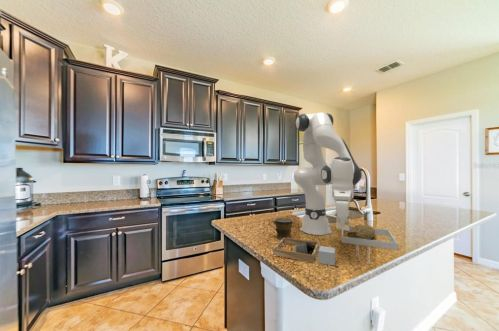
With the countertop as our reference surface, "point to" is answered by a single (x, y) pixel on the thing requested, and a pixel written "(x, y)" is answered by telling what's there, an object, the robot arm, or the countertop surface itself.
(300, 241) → the oak cake frame
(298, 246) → the chocolate cake
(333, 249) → the slate block
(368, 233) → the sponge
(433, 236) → the countertop surface
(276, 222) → the ceramic cup
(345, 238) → the grey square frame
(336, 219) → the maple block
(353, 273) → the countertop surface
